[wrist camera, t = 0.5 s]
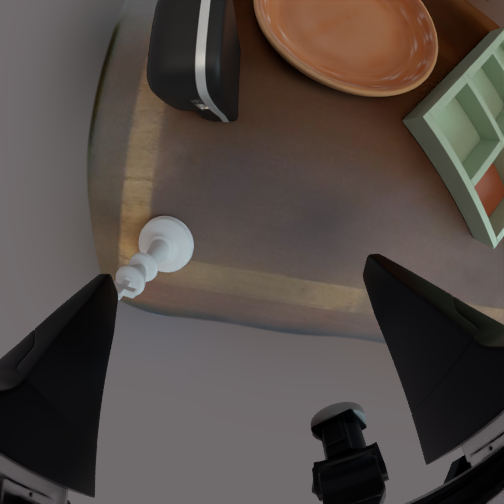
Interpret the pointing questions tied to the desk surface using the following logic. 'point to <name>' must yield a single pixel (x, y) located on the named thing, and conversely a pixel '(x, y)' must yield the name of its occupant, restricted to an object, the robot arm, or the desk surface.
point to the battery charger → (196, 57)
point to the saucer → (353, 42)
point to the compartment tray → (469, 136)
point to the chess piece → (155, 254)
